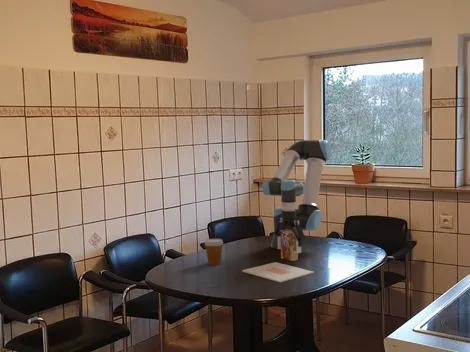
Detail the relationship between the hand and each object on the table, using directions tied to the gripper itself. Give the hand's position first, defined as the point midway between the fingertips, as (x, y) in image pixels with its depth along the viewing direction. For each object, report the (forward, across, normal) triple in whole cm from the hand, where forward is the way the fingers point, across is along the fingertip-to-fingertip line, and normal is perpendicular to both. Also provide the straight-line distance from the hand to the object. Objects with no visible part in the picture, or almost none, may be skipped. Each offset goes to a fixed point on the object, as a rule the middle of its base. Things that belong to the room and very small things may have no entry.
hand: (289, 250), depth 285 cm
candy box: (+5, 0, 0) cm, 5 cm away
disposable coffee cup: (+5, -21, -33) cm, 39 cm away
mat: (+5, +14, -22) cm, 26 cm away
